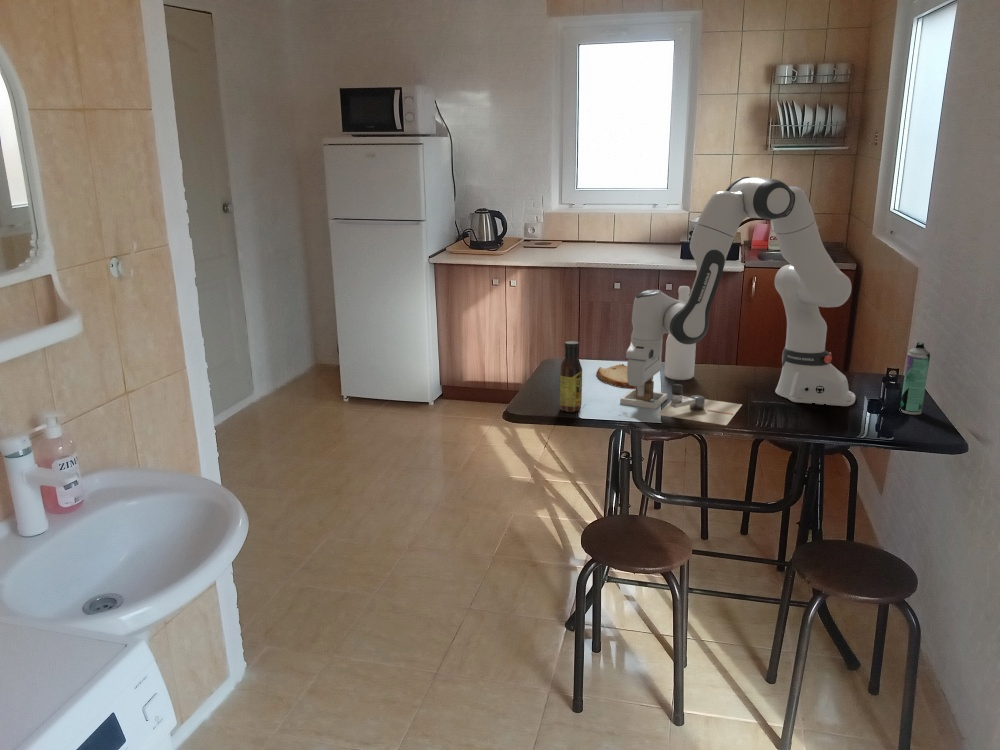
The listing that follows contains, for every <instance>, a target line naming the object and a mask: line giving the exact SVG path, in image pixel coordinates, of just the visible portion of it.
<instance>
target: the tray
mask: <svg viewBox="0 0 1000 750" xmlns="http://www.w3.org/2000/svg"><path fill="white" fill-rule="evenodd" d="M635 396H636V388H631V390H630V391H628V392H626V394H623V396H622V397H620V401H619V402H620V403H619V404H621V405H627V406H634V407H640V408H646V409H647V408H648V409H653V410H657V408H659V407H660V406H661V405H662V404H663V403H664V402H665V401H666V400H668V393H663V392H658V391H657V392H656V391H653V398H652V399H651V400H655V401H654V402H651V401H643V400H636V399H635Z"/></svg>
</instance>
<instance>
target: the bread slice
mask: <svg viewBox="0 0 1000 750" xmlns="http://www.w3.org/2000/svg"><path fill="white" fill-rule="evenodd" d="M595 374H596V377H597V378H598V380H600V379H601V380H602V381H601V380H600V381H601V382H603V381H605V382H604V383H606V382H607V383H610V384H612V385H611V386H613V385H616V386H615V387H617V386H620V387H619V388H623V387H626V388H625V389H636V386H630V385H629V384H628V380H627V365H626V364H624V363H621V364H616V365H613V366H609V367H606V368H604V367H601V366H600V367H598V368H597V370H596V373H595ZM607 383H606V384H607ZM610 384H609V385H610Z"/></svg>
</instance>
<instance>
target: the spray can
mask: <svg viewBox="0 0 1000 750" xmlns="http://www.w3.org/2000/svg"><path fill="white" fill-rule="evenodd" d="M930 360H931V352H930V351H929V350H927V349H926V346H925V343H924V342H917V343H916V345H915V346H914V348H911V349H908V353H907V357H906V365H905V369H904V370H905V371H904V379H903V386H902V391H901V392H902V393H901V399H900V405H899V410H900V409H901V411H902V412H901V411H900V412H901V413H904V414H908V415H910V416H911V415H913V416H914V415H915V416H917V415H921V414H922V411H923V410H922V409H923V406H924V405H923V404H924V398H925V391H926V385H927V378H928V372H929V367H930Z"/></svg>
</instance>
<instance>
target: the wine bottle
mask: <svg viewBox="0 0 1000 750" xmlns="http://www.w3.org/2000/svg"><path fill="white" fill-rule="evenodd" d="M677 291H678V298H677V300H679V301H682V302H685V303H687V301H688V298H689V295H690V293H691V288H690V286H688V285H680V286H679V288H678V289H677ZM696 347H697V343H694V344H683V343H680V342H679V341H677V340H676V339H675V338H674V337H673V336H672V335H671V334H669V333H668V335H667V338H666V342H665V357H664V371H663V372H664V376H665V377H666V378H667V379H671V380H674V381H687V380H691V379H693V378H694V375H695V366H696V365H695V364H696V363H695V362H696V351H697V350H696Z"/></svg>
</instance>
